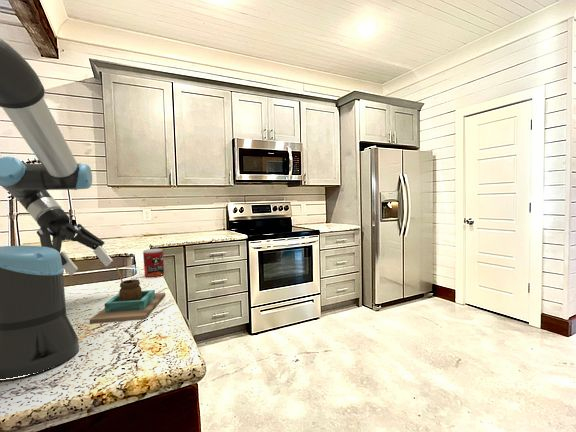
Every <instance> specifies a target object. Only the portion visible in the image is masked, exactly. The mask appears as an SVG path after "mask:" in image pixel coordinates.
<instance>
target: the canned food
mask: <svg viewBox="0 0 576 432" xmlns="http://www.w3.org/2000/svg"><path fill="white" fill-rule="evenodd" d="M142 254H143V268H144V269H143V270H144V277H145V276H147V277H155V278H157V277H156V276H160V277H162V276H164V275H165V267H164V266H165V265H164V262H165V261H164V249H163V248H150V249H149V248H148V249H145V250H143V252H142ZM161 274H162V275H161ZM147 277H146V278H147Z"/></svg>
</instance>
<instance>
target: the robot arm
mask: <svg viewBox="0 0 576 432" xmlns="http://www.w3.org/2000/svg"><path fill="white" fill-rule="evenodd" d="M45 94H46V90H45V87H44V85H43V83H42V81H41V79H40V78H39V75H38V74H37V73H36V71H35V70H34V69H33V68H32V66H31V64H29V62H28V61H27V60H26V59H25V58H24V57H23V56H22V55H21V54H20V53H19V52H18V51H17V50H16V49H14V47H12V46H11V45H10V44H9V43H7V42H6V41H4V40H3V39H2V38H0V108H2V110H3V111H4V112H5V114H6V116H7V117H8V118H9V119H10V121H11V123H12V124H13V125H14V127H15V129H17V131H18V132H19V134H20V135H21V137H22V138H23V140H24V141H25V142H26V144H27V146H28V147H29V149H30V150H31V151H32V152H33V154H34V156H35V157H36V158H37V160H38V161H39V162H40V163H24V162H23V161H21V160H20V159H18V158H15V157H14V156H2V157H0V186H1V188H3V189H5V191H7V192H8V193H9V194H10V195H11V196H13V198H15V199H16V200H17V201H18V202H19V204H21V206H22V207H23V208H24V209H25V210H26V212H28V214H29V215H30V216H31V218H32V219H33V220H34V222H36V224H37V225H38V226H39V228H38V230H37V231H36V234H37V235H38V237H39V241H40V245H3V246H0V379H6V378H13V377H18V376H23V375H28V374H33V373H37V372H41V371H43V370H46V369H48V368H51V367H53V368H55V367H54V366H56V365H58V366H60V365H62V364H64V363H66V362H67V361H69V360H70V359H71V358H73V357H74V356H75V355H76V354H77V353H78V352H79V349H80V343H79V338H78V337H79V336H78V334H77V333H76V331H75V329H74V327H73V325H72V324H71V321H70V319H69V317H68V315H67V308H66V295H65V293H66V292H65V283H64V282H65V280H64V270H65V272H66V273H67V274H68V275H69V276H70V277H71V276H73V275H74V274H76V272H77V271H78V270H79V268H78V266H77V265H76V264H75V263H74V262H73V261H72V260H71V258H70V257H69V255H68V254H67V253H66V252H65V251H62V244H63V242H64V241H72V242H77V243H79V244H81V245H83V246H86V247H87V248H90V249H91V250H93V253H94V254H95V255H96V257H97V258H98V260H100V262H101V263H102V264H103V265H104V266H105V267H109V266H110V265H111V264H112V262H113V261H114V260H113V259H112V257H110V255H109V254H108V253H107V251H106V250H105V249H104V248H103V246H104V245H105V241H103V240H102V239H101V238H99V237H97V236H96V235H94V234H93V233H92V232H90V231H89V230H87V229H86V228H85V227H84V226H83V225H82V224H81V223H78V224H77V225H75V226H74V225H72V223H71V219H70V216H69V215H68V213H66V211H65V210H64V209H62V207H61V205H60V204H59V203H58V202H57V201H56V199H55V198H54V197H53V196H52V195H51V194H50V193H49V192H48V191H58V190H59V191H60V190H61V191H62V190H63V191H64V190H65V191H66V190H68V191H69V190H71V191H73V190H74V191H77V190H85V189H86V190H87V189H90V188H91V187H92V184H93V173H92V169H91V166H90V165H89V164H88V163H81V162H79V163H78V162H77V160H76V158H75V156H74V154H73V153H72V150H71V149H70V147H69V145H68V142H67V141H66V139H65V137H64V136H63V133H62V132H61V129H60V128H59V126H58V124H57V122H56V120H55V118H54V116H53V115H52V112H51V111H50V108H49V107H48V105H47V103H46V101H45V99H44V97H45ZM51 236H52V237H51ZM63 362H64V363H63ZM61 363H62V364H61ZM59 364H60V365H59ZM56 367H57V366H56ZM51 369H52V368H51ZM46 371H47V370H46ZM43 372H44V371H43ZM41 373H42V372H41Z"/></svg>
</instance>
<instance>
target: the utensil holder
mask: <svg viewBox="0 0 576 432" xmlns="http://www.w3.org/2000/svg"><path fill="white" fill-rule="evenodd" d="M115 269H116V272H117V274H118V277H119V278H120V281H121V282H120V284H119V287H120V289H119V297H120V301H131V300H141V299H142V291H143V290H142V287H141V286H140V285H141V283H140V282H141V281H140V280H139V279H138V277H140V276H141V273H138V274H139V275H138V274H137V275H136V279H135V272H133V271H134V270H137V271H136V272H139V271H141V270H140V267H137V266H136V267H133V269H132V271H131V272H133V274H131V278H132V279H127V280H124V281H123V278H122V274H121V272H120V269H119V268H118V267H117V266H116V267H115Z"/></svg>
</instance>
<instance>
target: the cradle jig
mask: <svg viewBox="0 0 576 432" xmlns="http://www.w3.org/2000/svg"><path fill="white" fill-rule="evenodd" d="M165 297H166V292H157V293H156V290H155V289H149V290H142V299H141V300H131V301H120V297H119V293H117V294H115V295H114V296H113V297H111V298H110V299H109V300H107V301H106V302H105V303H104V308H103V309H102V310H100V311H99V312H97V314H94V316H92V317H91V318H90V319H89V324H99V323H101V324H102V323H111V322H112V323H113V322H124V321H125V322H127V321H136V320H146V319H147V318H148V316H150V315H151V313H152V312H153V311H154V310H155V309H156V307H157V306H158V305H159V303H160V302H162V300H163V299H164V298H165Z"/></svg>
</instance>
